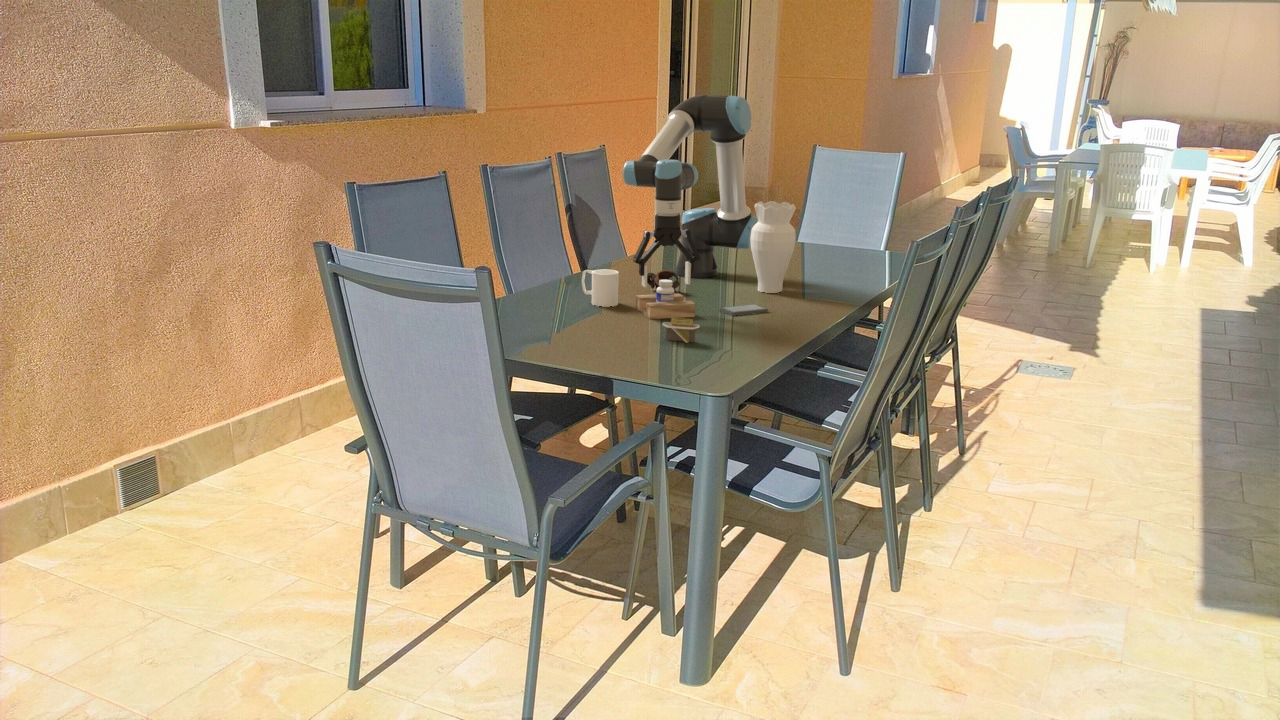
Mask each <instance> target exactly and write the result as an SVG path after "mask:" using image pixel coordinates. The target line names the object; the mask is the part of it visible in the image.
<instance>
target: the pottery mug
mask: <svg viewBox="0 0 1280 720" xmlns="http://www.w3.org/2000/svg"><path fill="white" fill-rule="evenodd" d="M673 277H674V278H675V280H674V281H673V285H672V288H674V291H675V290H676V289H677V288H678V287H679V286H681V282H680V281H679V275H677V274H676V273H675V271H672V270H669V269H663V270H659V271H658V272H657V273H655V272H654V273H653V272H647V285H649V286H650V288H651V289H655V290H657V288H658V287H660V285H659V280H664V279H666V280H670V279H671V278H673Z"/></svg>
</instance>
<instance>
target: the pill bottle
mask: <svg viewBox="0 0 1280 720" xmlns="http://www.w3.org/2000/svg"><path fill="white" fill-rule="evenodd" d="M673 282H674V281H673V280H671V279H669V280H666V279H664V280H659V285H660V287H658V288H657V290H656V289H655V290H656V291H655V292H656V293H655V294H656V302H674V294H675V290H674V288H672V285H673Z"/></svg>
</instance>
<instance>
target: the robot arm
mask: <svg viewBox="0 0 1280 720" xmlns="http://www.w3.org/2000/svg"><path fill="white" fill-rule="evenodd" d="M751 121H752V111H751V107H750V105H749V102H748V101H747V99H745V98H744V97H742V96H735V95H732V94H730V95H715V94H714V95H713V94H712V95H711V94H708V95H707V94H698V95H693V96H691V97H689V98H686V99H685V100H683V101H682V102H680V103H679V104H678V105H676V106H674V107H673V109H672V110H671V111H670V113H669V114H668V115H667V117H666V122H665V124H664V125H663V127H662V128H661V129H660V131H659V132H658V133H657V134H656V136H655V137H654V139H653V140H652V141H651V142H650V144H649V145H648V146H647V148H645V150H644V152H643V153H642V154H641V155H640V157H639V158H638V159H637V160H634V159H633V160H628V161H625V163H624V165H623V168H622V178H623V182H624V183H625V184H626V185H628V186H631V187H633V186H634V187H640V188H642V187H643V188H655V194H654V195H655V196H654V200H655V201H654V213H655V215H654V230H653V231H648V230H644V231H643V238H642V240H641V241H640V243H639V246H638V248H637V250H636V251H635V255H634V256H633V258H632V261H633V262H634V263H635V264H638V275H639V276H641V286H642V287H643V288H648V283H647V273H648V265H647V264H646V263H647V262H649V259H650V258H651V257H652V256H653V255H654V254H655V252H656V251H657V250H658V249H660V247H668V246H670V247H672V246H676V247H677V248H678V250H679V251H680V253H679V256H678V259H677V262H676V265H675V270H674V272H675V273H676V274H677V275H678V276H680V277H684V283H685V284H686V285H688V286H689V285H691V278H695V279H697V278H698V279H702V278H703V279H704V278H713V277H717V276H718V274H719V267H718V264H717V260H716V257H715V253H714V252H715V247H716V248H717V247H718V248H727V249H736V250H748V249H751V240H750V237H751V231H752V228H753V226H754V225H755V224H756V223H757V222H758V218H757V216H755V215H752V211H751V207H749V206H748V205H747V204H746V203H747V201H746V187H745V186H746V184H745V171H744V159H743V158H744V157H743V140H744V139H745V138H746V136H747V134H748V133H749V132H750V130H751V127H752V122H751ZM694 132H703V133H704V132H706V133H709V136H710V140H711V142H713V143H714V144H715V152H716V165H717V166H716V167H717V177H718V187H719V198H720V199H719V201H720V207H719V208H718V210H717V211H716V208H715V207H703V208H693V209H688V210H686V211H684V212H683V213H682V217H681V215H680V214H681V212H682V211H681V207H682V205H681V204H682V203H681V202H682V191H683V190H688V189H690V188H692V187H693V186H695V185H696V183H697V182H698V180H699V171H698V169H697V168H696V166H695V165H694V164H692V163H689V162H681V160H679V159H670V158H671V157H672V156H673V155H674V154H675V152H676V151H677V149H678V148H679V146H680V145H681V143H682V142H683V141H684V140H685V138H687V137H689V136H691V135H692V134H693V133H694ZM681 219H682V220H681ZM652 237H654V240H653V242H652V243H651V245H650V246H649V247H648V244H649V243H650V240H651V239H652ZM680 237H681V239H680ZM647 247H648V248H647ZM646 249H647V250H646ZM645 250H646V251H645Z"/></svg>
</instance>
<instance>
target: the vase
mask: <svg viewBox="0 0 1280 720" xmlns="http://www.w3.org/2000/svg"><path fill="white" fill-rule="evenodd" d="M753 206H754V210H755V214H756V217H757V220H758V222H757V223H756V224H755V225H754V226H753V228H752V231H751V237H750V240H751V247H750V250H751V255H752V258H753V262H754V268H755V272H756V277H757V291H758V292H759V291H760V292H759V293H761V292H765V293H764V294H767V293H775V292H780V291H782V292H783V282H784V278H785V276H786V272H787V270H788V267H789V263H790V261H791V258H792V257H793V253H794V250H795V245H796V229H795V227H794V226H793V225H792V224H791V220H792V218H793V216H794V213H795V211H796V209H797V208H796V205H795V204H794V203H791V204H790V203H789V202H787V201H782V202H780V203H779V202H777V201H773V200H769V201H767V202H765V203H764V202H763V201H758V202H756V203H755V204H754V205H753Z"/></svg>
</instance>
